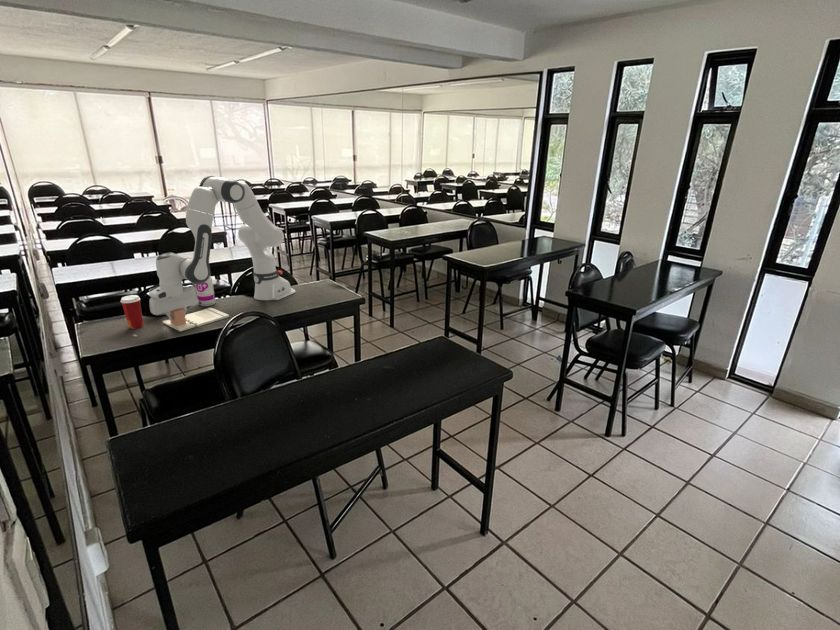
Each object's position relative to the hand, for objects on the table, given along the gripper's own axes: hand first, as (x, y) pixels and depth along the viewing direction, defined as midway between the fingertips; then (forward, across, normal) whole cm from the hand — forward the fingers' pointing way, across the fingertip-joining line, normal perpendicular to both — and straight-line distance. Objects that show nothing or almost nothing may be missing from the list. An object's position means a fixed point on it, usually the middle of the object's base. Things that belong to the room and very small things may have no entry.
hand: (177, 318), depth 211 cm
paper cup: (+4, +12, -14) cm, 19 cm away
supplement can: (+4, -24, -17) cm, 29 cm away
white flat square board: (+4, -12, 0) cm, 13 cm away
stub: (+4, 0, 0) cm, 4 cm away
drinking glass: (+4, -4, -22) cm, 23 cm away
